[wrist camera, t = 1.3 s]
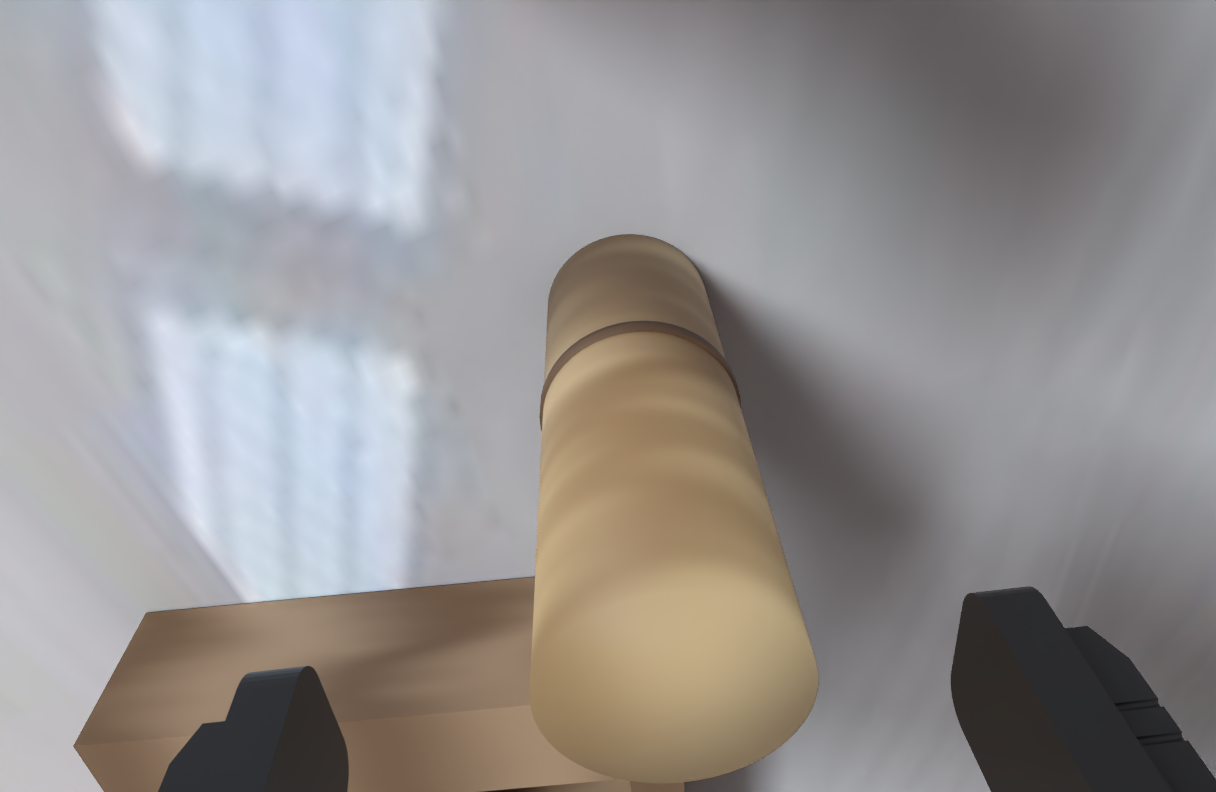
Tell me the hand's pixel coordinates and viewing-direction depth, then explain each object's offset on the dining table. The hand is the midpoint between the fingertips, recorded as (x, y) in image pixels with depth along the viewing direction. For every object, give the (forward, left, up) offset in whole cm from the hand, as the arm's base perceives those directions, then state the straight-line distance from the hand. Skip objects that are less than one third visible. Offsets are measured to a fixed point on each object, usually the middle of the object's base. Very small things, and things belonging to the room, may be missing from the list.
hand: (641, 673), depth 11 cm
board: (+6, +13, -9) cm, 17 cm away
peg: (0, 0, -9) cm, 9 cm away
